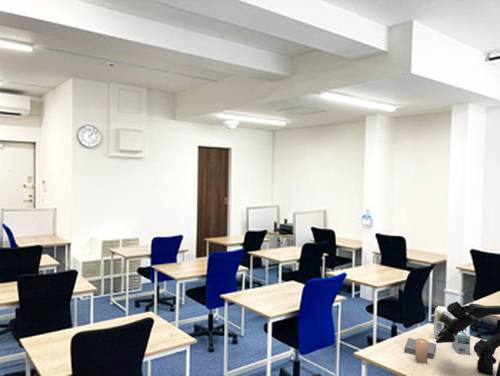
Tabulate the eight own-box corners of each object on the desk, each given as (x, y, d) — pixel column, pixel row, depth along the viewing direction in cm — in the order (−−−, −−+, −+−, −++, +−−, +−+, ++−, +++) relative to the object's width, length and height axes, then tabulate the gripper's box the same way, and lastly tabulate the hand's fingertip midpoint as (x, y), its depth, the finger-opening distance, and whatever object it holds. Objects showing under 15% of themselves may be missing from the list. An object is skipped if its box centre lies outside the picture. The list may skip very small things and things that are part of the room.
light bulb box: (470, 354, 218) (470, 336, 218) (457, 353, 219) (458, 334, 219) (463, 346, 229) (464, 328, 228) (451, 345, 230) (452, 327, 230)
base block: (435, 348, 225) (436, 343, 225) (433, 359, 212) (433, 353, 212) (408, 342, 232) (408, 337, 232) (404, 352, 219) (404, 347, 219)
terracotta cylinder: (427, 359, 211) (428, 339, 211) (426, 364, 206) (427, 343, 205) (416, 356, 214) (416, 337, 214) (414, 361, 209) (415, 341, 208)
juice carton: (432, 338, 239) (433, 308, 238) (436, 334, 246) (437, 305, 245) (446, 342, 234) (447, 311, 234) (449, 337, 241) (450, 307, 240)
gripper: (450, 305, 211) (427, 321, 216) (448, 315, 194) (423, 332, 200) (466, 322, 207) (442, 338, 213) (465, 334, 191) (440, 350, 197)
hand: (437, 339), depth 206 cm, fingers open, 9 cm apart
